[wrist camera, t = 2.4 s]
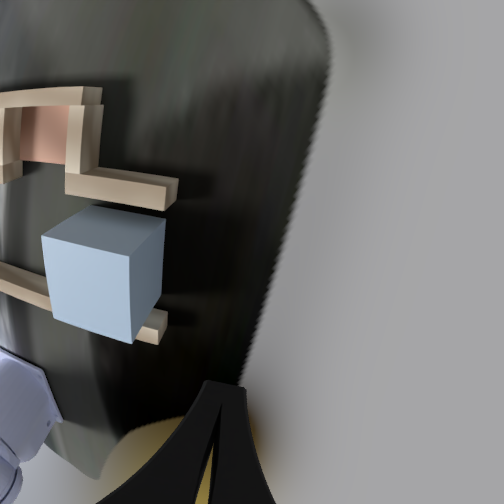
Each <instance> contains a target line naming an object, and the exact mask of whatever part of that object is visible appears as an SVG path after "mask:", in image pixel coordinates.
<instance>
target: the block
mask: <svg viewBox="0 0 504 504" xmlns="http://www.w3.org/2000/svg"><path fill="white" fill-rule="evenodd" d="M165 224H166V219H164V218H158V217H153V216H148V215H142V214H137V213H132V212H126V211H121V210H116V209H110V208H105V207H99V206H94V205H90V206H88V207H86V208H85V209H83V210H81V211H80V212H78V213H76V214H75V215H73V216H71V217H70V218H68V219H66V220H65V221H63V222H61V223H60V224H58V225H57V226H55V227H54V228H52V229H50V230H49V231H47V232H46V233H44V234H43V235H41V237H42V247H43V256H44V264H45V271H46V278H47V284H48V290H49V296H50V301H51V307H52V312H53V317H54V318H55V319H58V320H60V321H63V322H66V323H69V324H71V325H74V326H77V327H80V328H83V329H86V330H89V331H92V332H95V333H98V334H101V335H104V336H107V337H110V338H114V339H117V340H120V341H123V342H127V343H130V344H132V343H133V341H134V340H135V338H136V336H137V334H138V333H139V331H140V329H141V327H142V326H143V324H144V322H145V321H146V319H147V317H148V315H149V314H150V312H151V310H152V309H153V307H154V305H155V304H156V302H157V300H158V299H159V297H160V295H161V288H162V268H163V251H164V237H165Z"/></svg>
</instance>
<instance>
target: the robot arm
mask: <svg viewBox="0 0 504 504" xmlns="http://www.w3.org/2000/svg"><path fill="white" fill-rule="evenodd" d="M55 421H57V422H60V423H62V422H63V418H62V416H61V414H60V412H59V409H58V407H57V404H56V402H55V400H54V397H53V395H52V392H51V390H50V387H49V384H48V382H47V379H46V376H45V373H44V371H43V370H42V369H40V368H38V367H36V366H34V365H32V364H30V363H28V362H26V361H24V360H22V359H20V358H18V357H16V356H14V355H12V354H10V353H8V352H6V351H5V350H3V349H1V348H0V504H12V503H13V502H14V501H15V499H16V498H17V496H18V494H19V492H20V490H21V486H22V482H23V477H22V471H21V468H20V467H19V466H18V465H19V463H20V462H26V461H29V460H31V459H32V458H33V457H34V456H35V455H36V454H37V453H38V451H39V449H40V447H41V445H42V444H43V442H44V440H45V438H46V437H47V435H48V433H49V431H50V430H51V428H52V426H53V424H54V423H55ZM213 443H214V445H213ZM212 446H213V457H212V467H211V478H210V489H209V499H208V504H276V503H275V501H274V499H273V497H272V494H271V492H270V490H269V487H268V485H267V482H266V480H265V477H264V474H263V472H262V469H261V466H260V463H259V460H258V457H257V453H256V449H255V445H254V441H253V437H252V433H251V428H250V423H249V417H248V410H247V398H246V389H245V388H244V387H239V386H234V385H229V384H224V383H219V382H215V381H210V380H206V381H204V383H203V385H202V388H201V390H200V392H199V394H198V396H197V398H196V399H195V401H194V403H193V404H192V406H191V408H190V409H189V411H188V412H187V414H186V415H185V417H184V418H183V420H182V421H181V422H180V424H179V425H178V427H177V428H176V429H175V431H174V432H173V433H172V434H171V436H170V437H169V438H168V439H167V441H166V442H165V443H164V444H163V445H162V447H161V448H160V449H159V450H158V451H157V452H156V453H155V454H154V455H153V456H152V458H150V460H149V461H148V462H147V463H146V464H144V465H143V466H142V468H140V469H139V470H138V471H137V472H136V473H135V474H134V475H133V476H132V477H130V478H129V479H128V480H127V481H126V482H125V483H123V484H122V485H121V486H120V487H119V488H117V489H116V490H114V491H113V492H112V493H110V494H109V495H107V496H106V497H105V498H103V499H102V500H101V501H99V502H98V503H96V504H195V501H196V498H197V494H198V491H199V488H200V484H201V481H202V478H203V475H204V472H205V469H206V466H207V462H208V459H209V456H210V453H211V450H212Z"/></svg>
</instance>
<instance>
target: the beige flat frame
mask: <svg viewBox="0 0 504 504" xmlns="http://www.w3.org/2000/svg"><path fill="white" fill-rule="evenodd" d="M102 89H103V88H102V87H86V86H78V87H55V88H41V89H29V90H19V91H11V92H3V93H0V184H5V183H7V182H9V181H12V180H15V179H17V178H20V177H22V176H23V160H26V161H37V162H48V163H57V164H65V194H69V195H75V196H81V197H87V198H93V199H99V200H105V201H110V202H116V203H122V204H127V205H133V206H139V207H144V208H150V209H155V210H160V211H165V210H166V209H167V208H168V207H169V206H170V205H171V204H173V203H174V202H175V201H176V198H177V189H178V181H179V179H178V178H172V177H166V176H159V175H153V174H146V173H139V172H132V171H125V170H118V169H110V168H103V167H98V164H99V149H100V137H101V127H102V117H103V109H104V105H100V104H101V96H102ZM0 291H2V292H4V293H6V294H9V295H11V296H14V297H16V298H18V299H21V300H23V301H26V302H28V303H31V304H33V305H36V306H38V307H41V308H44V309H46V310H49V311H52V307H51V301H50V296H49V290H48V284H47V278H46V277H44V276H41V275H38V274H35V273H32V272H29V271H26V270H23V269H20V268H17V267H14V266H12V265H9V264H6V263H3V262H1V261H0ZM167 317H168V312H167V311H163V310H159V309H155V308H153V309H152V310H151V312H150V314H149V315H148V317H147V319H146V321H145V322H144V324H143V326H142V327H141V329H140V331H139V333H138V334H137V336H136V338H135V339H138V340H142V341H145V342H149V343H152V344H156V345H158V344H159V342H160V340H161V338H162V335H163V333H164V331H165V329H166V327H167Z"/></svg>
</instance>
